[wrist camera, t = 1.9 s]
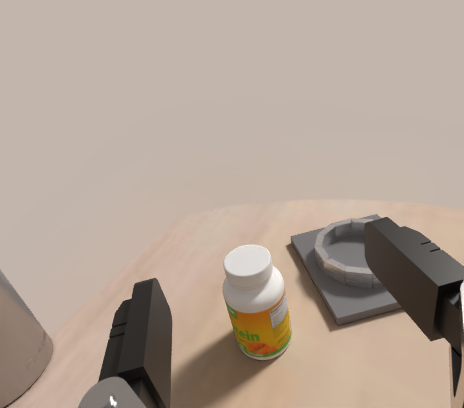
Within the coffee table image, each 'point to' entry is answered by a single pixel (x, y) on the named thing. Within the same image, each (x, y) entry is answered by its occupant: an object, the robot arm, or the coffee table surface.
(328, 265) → the stone collar
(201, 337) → the coffee table surface
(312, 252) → the base plate
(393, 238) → the robot arm
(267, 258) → the supplement bottle
